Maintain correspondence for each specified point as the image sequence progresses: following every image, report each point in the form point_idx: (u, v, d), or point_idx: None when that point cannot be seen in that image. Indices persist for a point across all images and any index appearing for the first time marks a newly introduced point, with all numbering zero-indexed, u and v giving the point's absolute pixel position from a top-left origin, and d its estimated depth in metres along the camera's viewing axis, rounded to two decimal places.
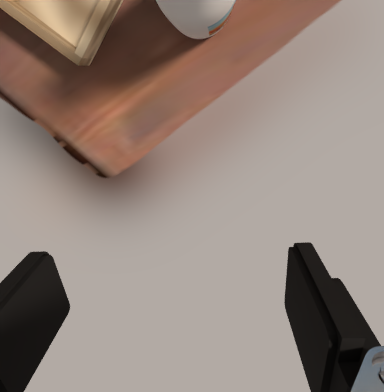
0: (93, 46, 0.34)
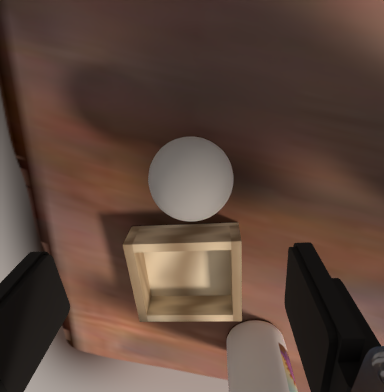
0: None
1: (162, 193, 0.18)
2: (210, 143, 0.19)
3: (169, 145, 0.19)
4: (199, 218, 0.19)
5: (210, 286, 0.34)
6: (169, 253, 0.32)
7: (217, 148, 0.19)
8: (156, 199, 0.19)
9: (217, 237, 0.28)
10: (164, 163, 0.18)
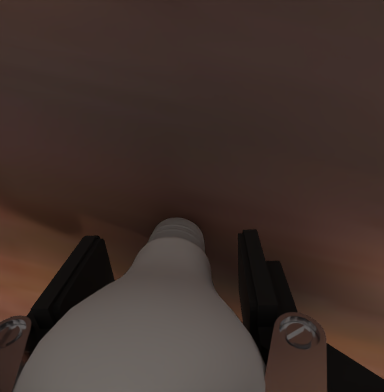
0: None
1: None
2: (204, 341, 0.05)
3: (58, 355, 0.05)
4: None
5: None
6: None
7: (229, 359, 0.05)
8: None
9: None
10: None
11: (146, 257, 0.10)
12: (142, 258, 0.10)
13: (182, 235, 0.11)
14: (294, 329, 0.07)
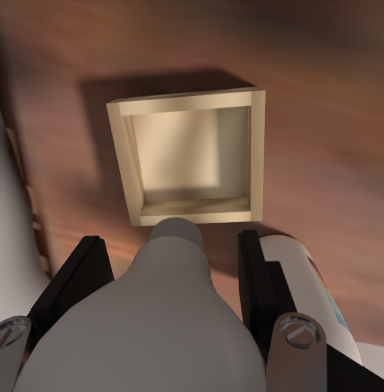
0: None
1: None
2: (205, 340, 0.05)
3: (58, 355, 0.05)
4: None
5: (220, 184, 0.27)
6: (168, 135, 0.25)
7: (229, 357, 0.05)
8: None
9: (232, 91, 0.21)
10: None
11: (145, 256, 0.10)
12: (141, 257, 0.10)
13: (181, 235, 0.11)
14: (294, 329, 0.07)
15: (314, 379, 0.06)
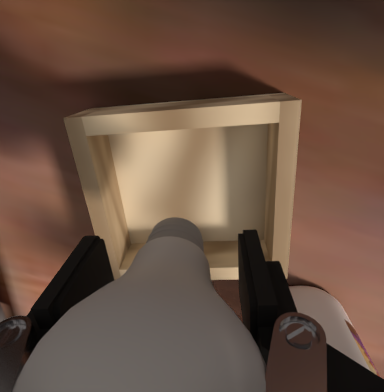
0: None
1: None
2: (205, 340, 0.05)
3: (58, 355, 0.05)
4: None
5: (229, 223, 0.20)
6: (158, 159, 0.18)
7: (229, 357, 0.05)
8: None
9: (250, 102, 0.14)
10: None
11: (145, 257, 0.10)
12: (141, 258, 0.10)
13: (181, 235, 0.11)
14: (294, 329, 0.07)
15: (314, 379, 0.06)
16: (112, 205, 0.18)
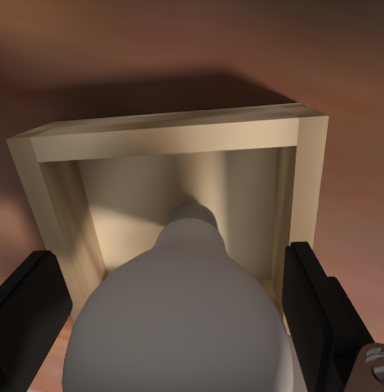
0: None
1: None
2: (233, 289, 0.07)
3: (114, 299, 0.06)
4: None
5: None
6: (140, 185, 0.15)
7: (253, 303, 0.07)
8: None
9: (258, 117, 0.10)
10: (92, 379, 0.06)
11: (170, 234, 0.11)
12: (166, 235, 0.11)
13: (200, 218, 0.12)
14: None
15: None
16: (81, 244, 0.14)
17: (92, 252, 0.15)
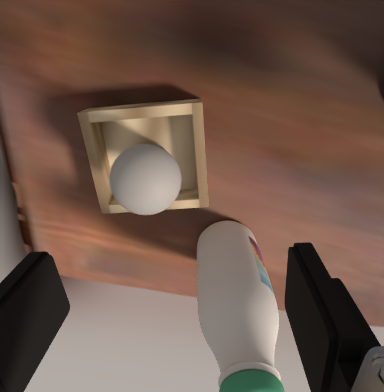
0: None
1: (119, 191, 0.22)
2: (159, 149, 0.23)
3: (125, 151, 0.22)
4: (152, 211, 0.23)
5: None
6: (131, 138, 0.31)
7: (165, 153, 0.23)
8: (115, 196, 0.23)
9: (178, 103, 0.27)
10: (120, 166, 0.22)
11: None
12: None
13: None
14: None
15: None
16: (104, 165, 0.30)
17: (108, 172, 0.31)
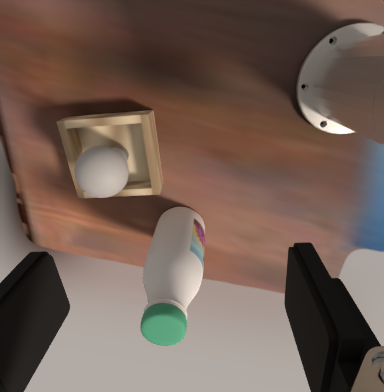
0: None
1: (79, 180, 0.31)
2: (110, 150, 0.31)
3: (85, 151, 0.31)
4: (104, 195, 0.32)
5: (137, 171, 0.41)
6: (100, 140, 0.39)
7: (114, 153, 0.31)
8: (78, 183, 0.32)
9: (131, 114, 0.35)
10: (80, 162, 0.30)
11: None
12: None
13: (118, 148, 0.37)
14: None
15: None
16: None
17: None
